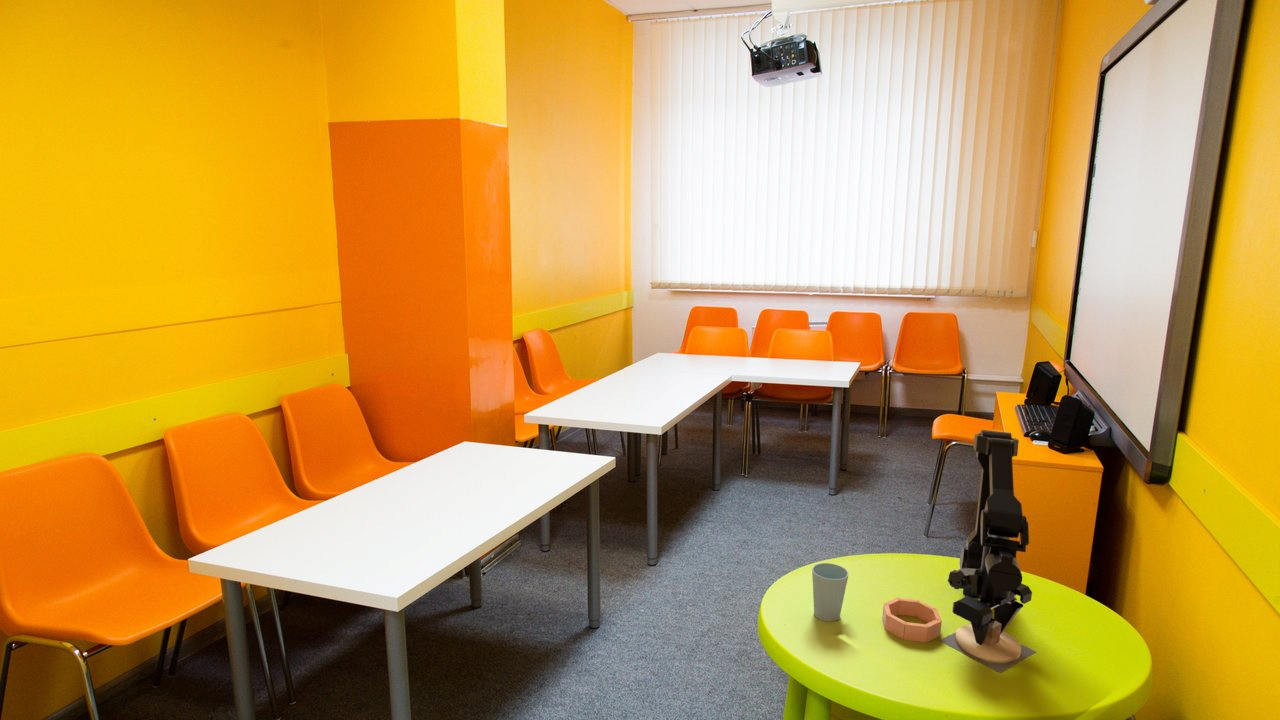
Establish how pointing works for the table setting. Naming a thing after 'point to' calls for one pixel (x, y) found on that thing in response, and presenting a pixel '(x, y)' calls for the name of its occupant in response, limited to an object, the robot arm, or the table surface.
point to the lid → (989, 645)
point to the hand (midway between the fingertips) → (988, 639)
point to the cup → (828, 590)
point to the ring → (911, 629)
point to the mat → (995, 666)
